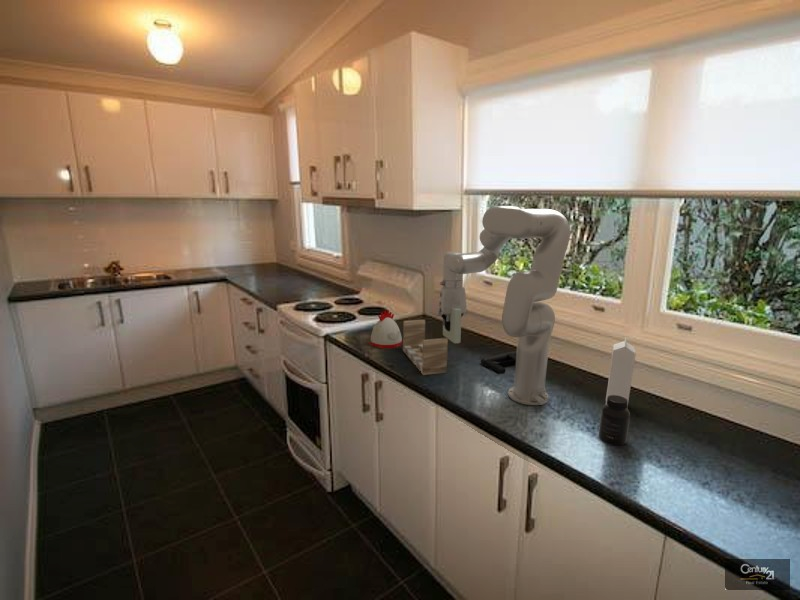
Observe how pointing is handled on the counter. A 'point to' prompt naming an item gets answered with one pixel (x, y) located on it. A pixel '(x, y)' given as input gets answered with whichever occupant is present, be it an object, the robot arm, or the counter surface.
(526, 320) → the robot arm
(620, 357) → the milk
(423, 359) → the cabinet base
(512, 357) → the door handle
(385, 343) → the kitchen timer
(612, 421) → the supplement bottle
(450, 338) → the door panel
